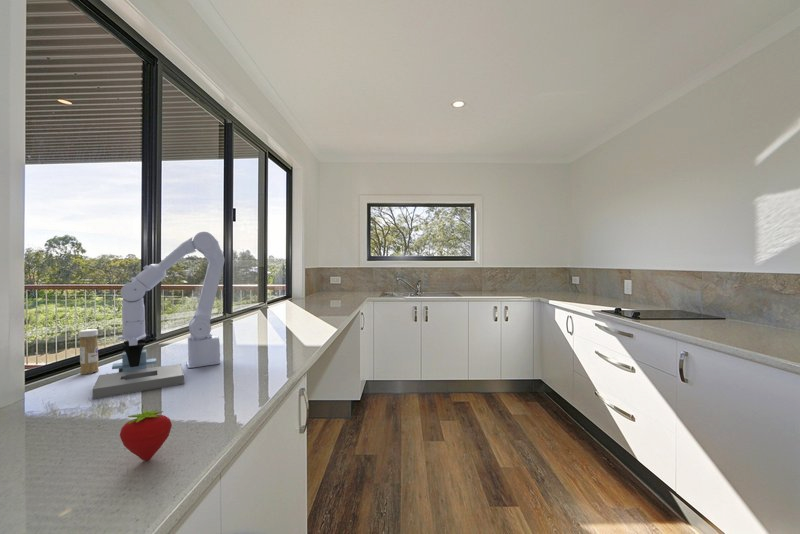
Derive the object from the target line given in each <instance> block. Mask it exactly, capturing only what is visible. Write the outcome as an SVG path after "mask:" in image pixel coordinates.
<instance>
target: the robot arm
mask: <svg viewBox="0 0 800 534" xmlns="http://www.w3.org/2000/svg"><path fill="white" fill-rule="evenodd" d="M219 243H220V242H219V241H218V240H217V238H216V237H215V236H214V235H212V234H211V233H210V232H208V231H200V232H198V233H196V234H195V235H194V236H193V237H190V238H188V239H187V240H185V241H184V242H182V243H181V244H179V245H178V246H177V247H175V249H174V250H172V251H171V252H170V253H169V254H168V255H166V257H165V258H163V259H162V260H161V261H160V262H159V263H151V264H149V265H145V266H143V267H142V269H143V270H142V271H140V272H139V273H138V274H137V275H136V276H134V277H133V276H132V277H130V278H129V280H130V281H131V282H126V283H124V285H123V286H122V287H121V289H120V296H121V298H122V301H121V304H122V306H121V317H122V319H121V322H122V335H118V337H117V340H124V341H123V344H122V346H121V347H122V349H123V350H124V352H126V354H127V357H128V361H129V365H130V367H136V366H139V363H140V357H141V352H142V350H144V347H145V345H146V337H147V333H146V316H145V315H146V310H145V309H146V308H145V303H144V296H145V295H146V292H149V291H151V290H152V289H154V288H155V286H157V285H158V284H159V283H160V282H162V281H163V280H164V279H165V278H166V277H167V271H168V270H169V269H170V268H171V267H173V266H174V265H175V264H176V263H177V262H179V261H180V260H181V259H182V258H184V257H185V256H187V255H190V254H193V253H194V254H195V253H196V252H197V251H198V252H200V253H201V254H202V255H203V257H204V258H205V259H206V260H207V263H208V264H207V267H206V273H205V276H204V278H203V279H204V280H203V284H202V288H201V292H200V296H199V298H198V303H197V306H196V310H195V312H194V316H193V317H192V318H191V320H190V321H189V323H188V328H189V329H188V330H189V336H187V360H188V361H186V367H187V369H192V368H193V369H194V368H199V367H200V368H201V367H206V366H212V365H218V364H219V365H220V364H221V349H220V348H221V345H220V338H219V336H218V335H213V334H212V333H211V331H212V325H211V319H212V312H213V307H214V304H215V300H216V296H217V292H218V288H219V284H220V280H221V276H222V273H223V268H224V264H225V256H224V254H223V251H222V249H221V247H220V244H219Z"/></svg>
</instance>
